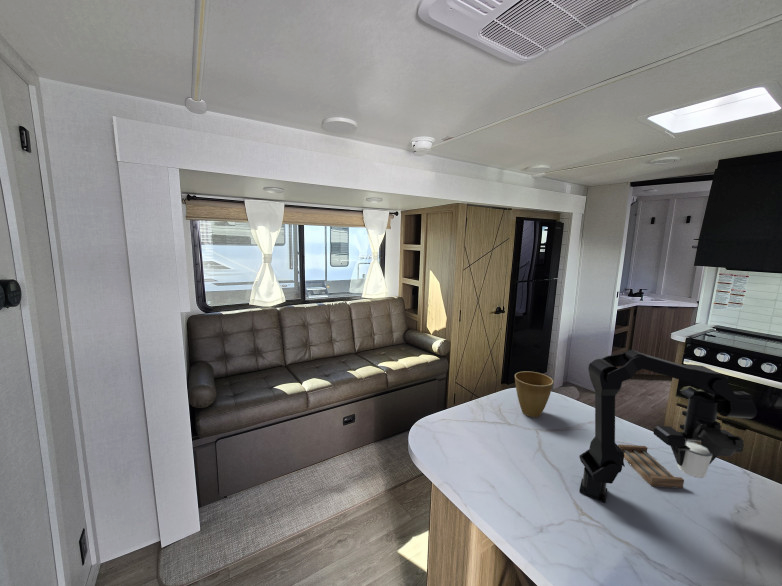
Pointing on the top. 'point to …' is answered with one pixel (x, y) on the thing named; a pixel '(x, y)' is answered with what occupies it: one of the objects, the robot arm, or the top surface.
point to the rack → (649, 467)
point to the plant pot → (533, 392)
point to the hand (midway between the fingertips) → (691, 465)
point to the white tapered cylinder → (696, 460)
